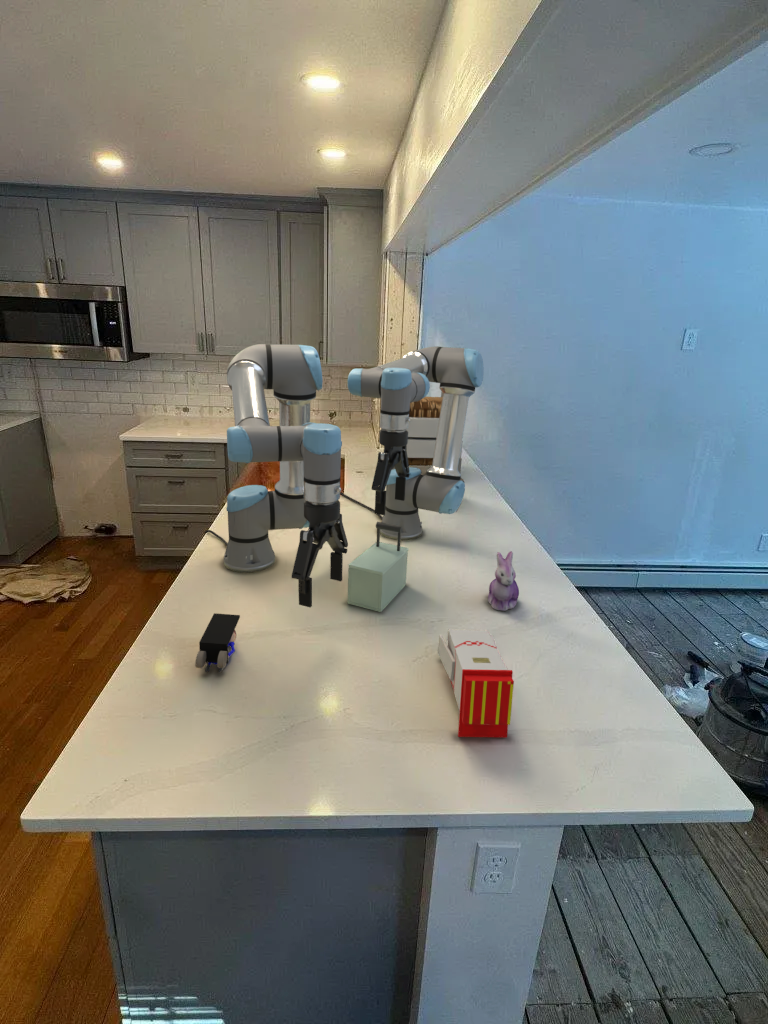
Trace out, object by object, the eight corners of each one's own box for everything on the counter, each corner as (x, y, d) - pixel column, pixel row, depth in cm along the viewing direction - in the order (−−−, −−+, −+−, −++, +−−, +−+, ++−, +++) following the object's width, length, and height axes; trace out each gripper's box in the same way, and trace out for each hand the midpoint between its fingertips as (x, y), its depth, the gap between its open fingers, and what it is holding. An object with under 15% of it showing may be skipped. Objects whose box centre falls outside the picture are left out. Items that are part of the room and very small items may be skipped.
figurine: (500, 615, 149) (507, 563, 144) (477, 598, 157) (483, 548, 152) (528, 608, 153) (536, 557, 148) (504, 591, 161) (510, 543, 156)
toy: (488, 613, 130) (523, 677, 101) (484, 667, 133) (517, 744, 104) (435, 612, 130) (455, 676, 101) (432, 666, 133) (451, 743, 103)
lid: (377, 543, 164) (378, 517, 161) (408, 550, 160) (410, 523, 157) (348, 567, 148) (349, 538, 145) (382, 575, 144) (384, 545, 142)
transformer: (382, 463, 289) (386, 382, 275) (445, 464, 293) (451, 384, 279) (390, 482, 257) (394, 392, 243) (460, 483, 261) (468, 394, 247)
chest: (374, 577, 167) (376, 544, 163) (405, 585, 163) (407, 551, 160) (347, 603, 152) (348, 567, 148) (380, 612, 148) (382, 575, 144)
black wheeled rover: (228, 683, 120) (242, 637, 133) (225, 655, 116) (240, 611, 130) (196, 682, 119) (214, 637, 133) (192, 654, 116) (211, 610, 130)
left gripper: (306, 521, 105) (306, 622, 112) (364, 487, 127) (361, 573, 134) (272, 514, 108) (274, 613, 115) (334, 482, 129) (333, 566, 136)
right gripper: (388, 440, 135) (384, 523, 142) (424, 423, 157) (419, 496, 164) (359, 436, 138) (357, 518, 145) (398, 420, 159) (395, 492, 167)
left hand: (321, 592), depth 124 cm, fingers open, 13 cm apart
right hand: (390, 506), depth 154 cm, fingers open, 13 cm apart
